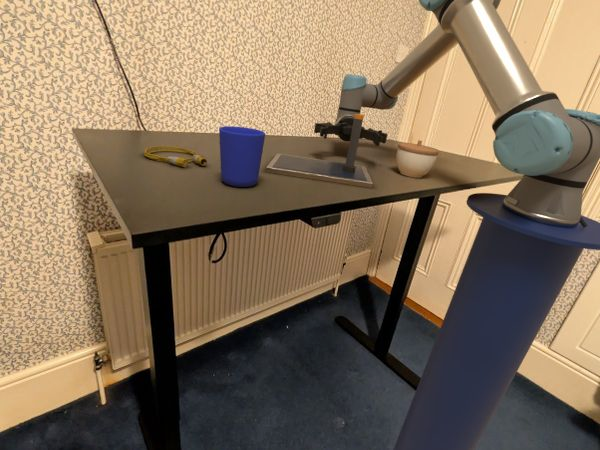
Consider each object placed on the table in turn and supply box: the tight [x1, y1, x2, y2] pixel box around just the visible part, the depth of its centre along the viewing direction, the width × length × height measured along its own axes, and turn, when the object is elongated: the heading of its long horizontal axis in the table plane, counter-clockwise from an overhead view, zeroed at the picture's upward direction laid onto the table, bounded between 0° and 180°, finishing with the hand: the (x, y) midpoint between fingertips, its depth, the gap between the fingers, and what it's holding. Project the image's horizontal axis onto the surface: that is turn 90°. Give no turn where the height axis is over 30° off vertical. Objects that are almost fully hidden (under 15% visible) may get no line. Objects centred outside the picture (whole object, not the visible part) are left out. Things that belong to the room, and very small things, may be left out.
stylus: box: [342, 113, 365, 172], centre depth 77 cm, size 3×3×13 cm
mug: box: [218, 125, 266, 188], centre depth 62 cm, size 8×12×10 cm
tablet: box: [265, 152, 374, 189], centre depth 80 cm, size 24×17×1 cm
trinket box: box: [395, 139, 440, 179], centre depth 88 cm, size 11×11×9 cm
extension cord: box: [144, 145, 208, 168], centre depth 72 cm, size 12×16×2 cm
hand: (352, 137), depth 83 cm, fingers open, 13 cm apart
